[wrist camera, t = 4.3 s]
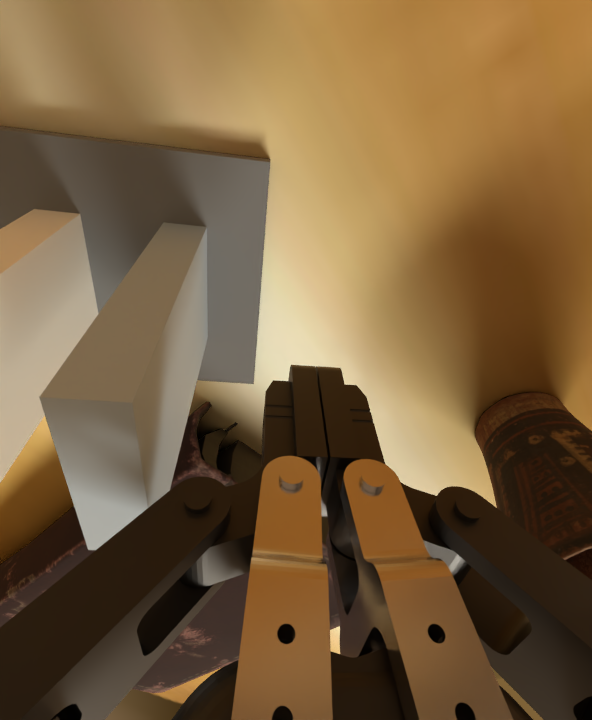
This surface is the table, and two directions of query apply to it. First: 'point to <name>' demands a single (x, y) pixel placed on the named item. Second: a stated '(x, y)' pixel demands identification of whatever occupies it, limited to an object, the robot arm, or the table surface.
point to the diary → (213, 622)
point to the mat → (153, 220)
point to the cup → (542, 472)
